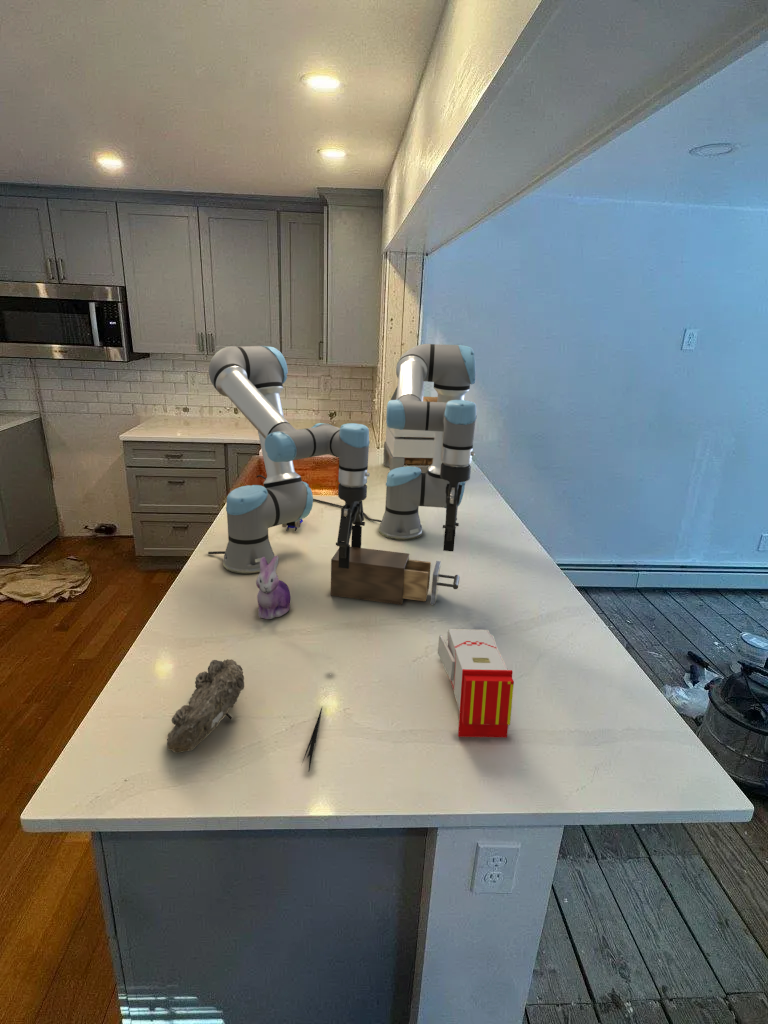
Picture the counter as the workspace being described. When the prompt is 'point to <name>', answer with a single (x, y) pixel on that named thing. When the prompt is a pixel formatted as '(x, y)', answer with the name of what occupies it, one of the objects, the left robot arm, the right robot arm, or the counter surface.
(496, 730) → the toy
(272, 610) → the figurine
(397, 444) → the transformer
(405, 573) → the drawer
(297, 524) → the figurine character
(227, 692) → the fossil
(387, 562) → the cabinet
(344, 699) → the counter surface
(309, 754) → the feather
